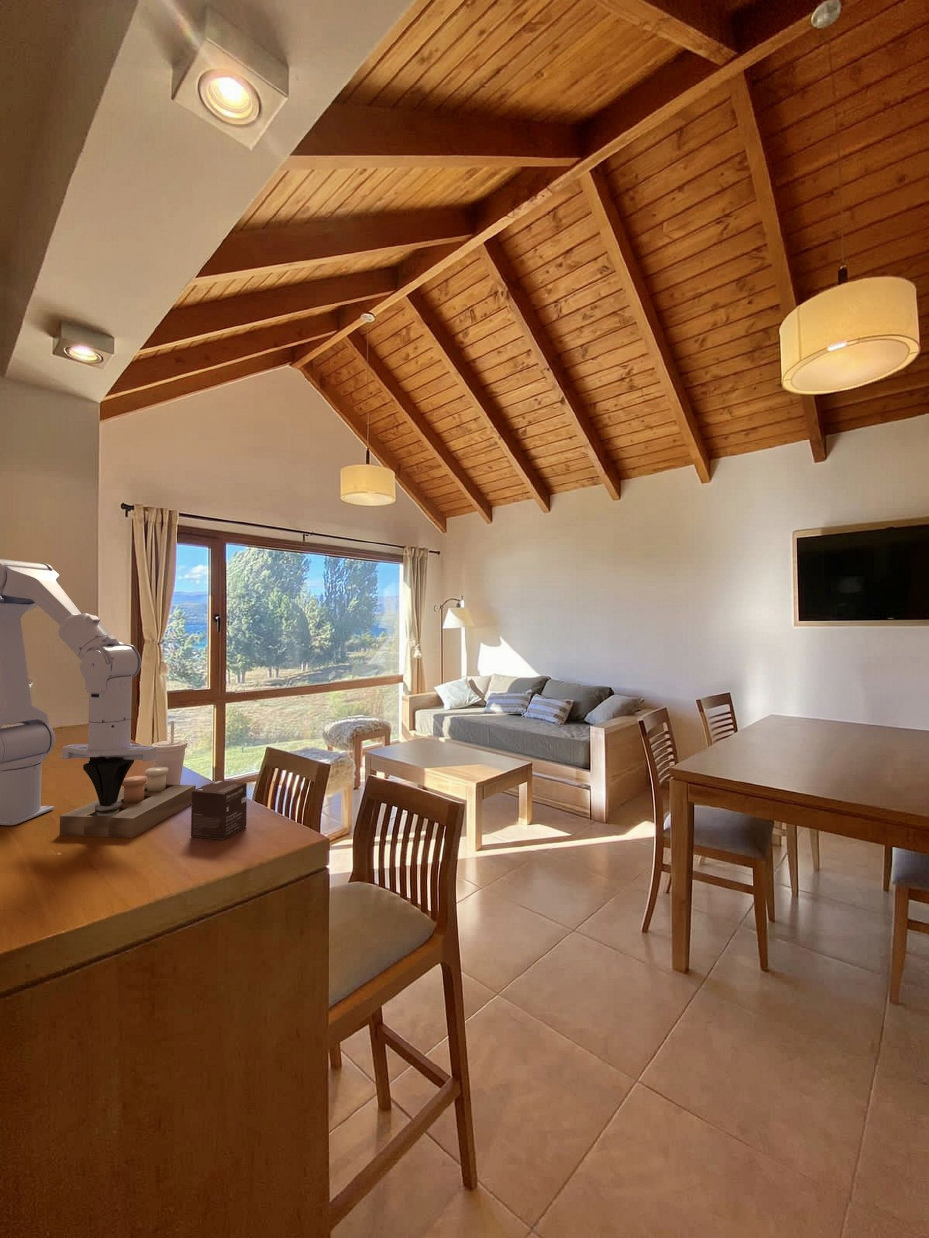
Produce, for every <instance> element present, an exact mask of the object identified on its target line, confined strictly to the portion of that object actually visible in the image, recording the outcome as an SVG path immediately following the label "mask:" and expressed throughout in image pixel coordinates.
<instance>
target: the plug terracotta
mask: <svg viewBox="0 0 929 1238" xmlns="http://www.w3.org/2000/svg"><path fill="white" fill-rule="evenodd" d="M144 784H147V776H145V775H135V776H128V777H125V778H124V781H123V783H122V786H121V787H123V788H124V803H139V802H141V801H143V800H144Z"/></svg>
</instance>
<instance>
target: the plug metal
mask: <svg viewBox="0 0 929 1238" xmlns="http://www.w3.org/2000/svg"><path fill="white" fill-rule="evenodd" d="M121 807H122V801H121V800H117V802H115V803H113V804H111V805H109V806H100V803H97V804H95V812H97V816H113V815H115V814H117V813H119V809H120V808H121Z"/></svg>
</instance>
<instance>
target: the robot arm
mask: <svg viewBox="0 0 929 1238" xmlns="http://www.w3.org/2000/svg"><path fill="white" fill-rule="evenodd" d="M60 582H61V576H60V574H59V573H58V572H57V571H55V569H54V568H53V567H52V565H51V564H49V563H45V562H38V563H37V562H31V561H30V562H29V561H20V560H12V559H4V558H0V826H16V825H18V824H21V823H23V822H25V821H28V820H31V819H33V818H35V817H38V816H41V815H42V814H44V813H48V812H49V811H52V810H54V809H55V806H54V805H41V803H42V800H41V799H42V768H43V767H42V763H43V762H44V761H46V760H47V756H48V755H49V754H50V753H51V752H52V751H53V749H54V747H55V742H56V735H55V731H54V729H53V727H52V726H51V724H50V720H49V715H48V713H47V712H45V711H44V710H42V709H40V708H39V707H37V706H35V705H33V703H32V693H31V686H30V680H29V671H28V664H27V658H26V657H27V656H26V649H25V643H24V642H25V641H24V632H23V627H22V625H23V624H22V617H23V616H24V615H25V613H26V612H30V611H32V610H34V609H35V608H36V607H39V609H41V610H43V611H44V613H46V614H47V615H48V616H49V617H50V618H51V619H52V620H53V621H54V622H56V623H57V625H59V629H58V637H60V639H61V640H62V641H63V642H64V643H65V644H66V646H67V647H68V648H69V649H70V650H71V651H72V652H73V653H74V655H75V656H76V657H77V658H78V660H80V661H81V662H80V663H79V671H80V674H81V675H82V677H83V679H84V682H85V683H84V684H85V690H86V692H87V693H88V695H89V696H88V729H87V730H88V735H87V736H88V737H87V741H88V742H87V743H85V744H83V743H82V744H69V745H65V746H62V748H61V759H62V760H70V759H89V760H88V762H87V763H84V764H83V765H82V766H83V768H82V770H83V771H84V772H85V773H86V774H87V776H88V777H89V779H90V781H91V782H92V784H93V787H94V789H95V793H96V796H97V800H98V799H99V803H100V806H109V805H111V804H113V803H115V802H117V799H118V795H119V792H120V790H121V789H122V787H123V786H122V783H123V781H124V779H125V778H126V776H127V774H128V772H129V771H130V769H131V767H132V766H133V764H134V762H135V761H136V760H137V761H142V762H150V761H154V760H153V759H156V751H157V747H154V746H151V745H144V744H138V743H137V744H135V743H131V738H132V736H131V735H132V702H133V701H132V699H133V697H132V693H133V689H132V688H133V678H134V677H136V676H137V675H138V674H139V672H140V669H141V668H142V658H141V654H140V652H139V651H138V650H137V648H136V646H135V645H132V644H130V643H123V642H122V641H119V640H117V638H116V637H115V636H114V635H113V634H112V633H110V631H109V630H108V629H107V628H106V627H105V626H104V625H103V624H102V623H101V618H99V617H98V616H97V615H93V614H91V613H81V611H80V609H79V608H78V606H76V605H75V603H74V602H73V601H72V600H71V598H70V597H69V595H68V594H67V593H66V591H65V590H64V589H63V588H62V587H61V585H60V584H61V583H60ZM14 724H21V725H14ZM7 725H13V726H8V727H7ZM4 726H6V727H4Z"/></svg>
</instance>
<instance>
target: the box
mask: <svg viewBox="0 0 929 1238" xmlns="http://www.w3.org/2000/svg"><path fill="white" fill-rule="evenodd" d="M247 784H248V782H239V781H227V780H226V781H225V780H215V781H214V782H213V781H212V782H210V783H207V784H204V785H202V786H201V787H199V788H196V790H193V791H192V803H191V808H190V809H191V810H190V811H191V814H190V817H191V818H190V836H191V837H193V838H197V839H198V838H199V839H210V840H211V839H213V840H219V841H221V840H223V841H224V840H226V839H228V838H230V837H232V836H233V835H235V834H237V833H238V832H239V831H238V830H240V829H241V828H243V827H245V826H247V815H248V814H247V813H248V811H247V807H248V806H247V799H245V798H247V795H248V793H247V792H248V791H247V789H248V787H247V786H248V785H247ZM245 828H246V827H245ZM243 829H244V828H243ZM241 830H242V829H241ZM241 830H240V831H241ZM237 831H238V832H237ZM234 833H235V834H234ZM232 834H233V835H232Z"/></svg>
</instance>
